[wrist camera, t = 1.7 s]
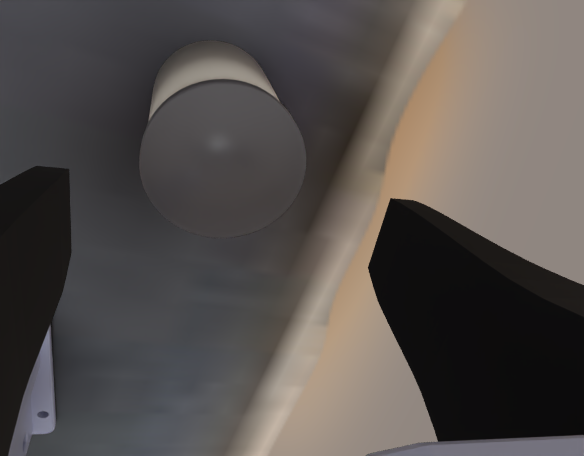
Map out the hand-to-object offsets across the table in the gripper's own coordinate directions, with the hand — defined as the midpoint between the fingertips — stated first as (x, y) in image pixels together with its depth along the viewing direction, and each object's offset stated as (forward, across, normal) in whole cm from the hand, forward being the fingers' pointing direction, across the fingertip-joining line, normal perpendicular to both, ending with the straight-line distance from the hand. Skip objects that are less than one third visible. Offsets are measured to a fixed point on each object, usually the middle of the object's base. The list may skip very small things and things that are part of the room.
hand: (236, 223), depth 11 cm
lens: (+9, 0, 0) cm, 9 cm away
